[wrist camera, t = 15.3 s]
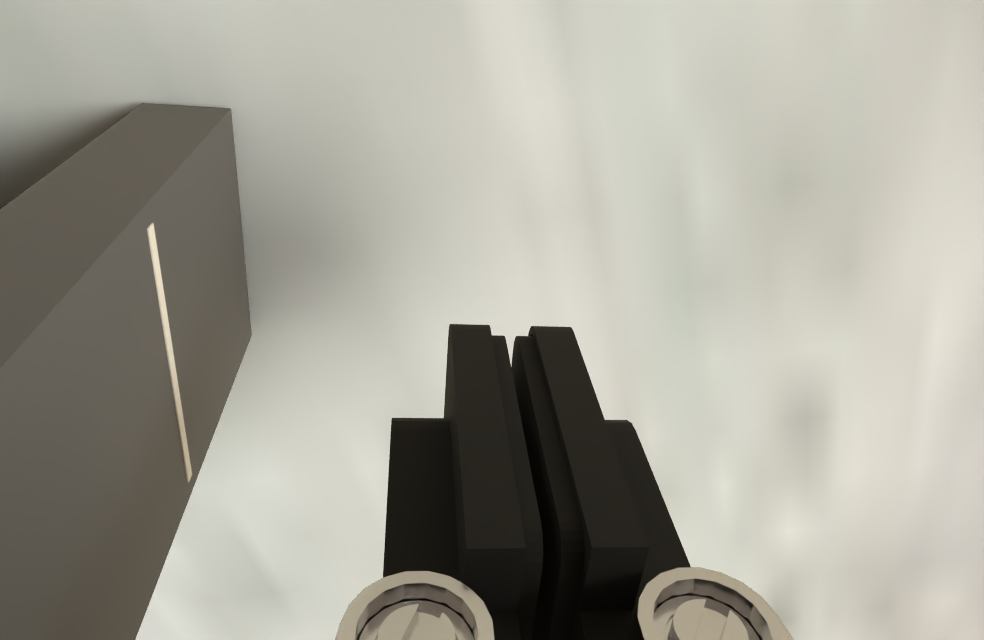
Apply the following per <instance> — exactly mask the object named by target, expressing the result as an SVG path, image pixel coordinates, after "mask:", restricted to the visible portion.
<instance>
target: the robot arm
mask: <svg viewBox="0 0 984 640" xmlns="http://www.w3.org/2000/svg"><path fill="white" fill-rule="evenodd" d="M335 640H794V639H793V637H792V636H791V634H790V633H789V631H788V630H787V628H786V627H785V625H784V624H783V623H782V621H781V620H780V618H779V617H778V615H777V614H776V613H775V611H774V610H773V609H772V608H771V607H770V606H769V605H768V603H767V602H766V601H765V600H764V599H763V598H762V597H761V596H760V595H759V594H757V593H756V592H755V591H753V590H752V589H751V588H749V587H748V586H747V585H745V584H744V583H743V582H740V581H738V580H736V579H734V578H732V577H730V576H728V575H726V574H723V573H721V572H717V571H713V570H708V569H704V568H700V567H692V568H691V567H690V564H689V562H688V559H687V557H686V554H685V552H684V549H683V547H682V544H681V542H680V539H679V537H678V534H677V532H676V529H675V527H674V524H673V522H672V519H671V517H670V515H669V512H668V510H667V507H666V505H665V502H664V500H663V497H662V495H661V492H660V490H659V487H658V485H657V482H656V480H655V477H654V475H653V472H652V470H651V467H650V465H649V463H648V460H647V458H646V455H645V453H644V450H643V448H642V445H641V443H640V440H639V438H638V435H637V433H636V430H635V429H634V427H633V425H632V423H631V422H629V421H627V420H604V417H603V414H602V411H601V408H600V405H599V403H598V400H597V397H596V394H595V391H594V388H593V386H592V383H591V380H590V377H589V374H588V371H587V369H586V366H585V363H584V360H583V357H582V354H581V352H580V349H579V346H578V343H577V340H576V337H575V335H574V332H573V330H572V328H571V327H545V326H531V328H530V331H529V334H528V336H516V338H515V341H514V348H513V357H512V367H511V365H510V359H509V354H508V349H507V344H506V339H505V336H492V335H491V329H490V326H489V325H463V324H450V326H449V336H448V353H447V371H446V389H445V406H444V418H392V424H391V441H390V459H389V478H388V496H387V515H386V533H385V552H384V570H383V578H382V579H380V580H378V581H377V582H375V583H373V584H371V585H370V586H368V587H366V588H365V589H363V591H362V592H361V593H360V594H359V595H358V596H357V597H356V598H355V599H354V600H353V601H352V602H351V603H350V604H349V606H348V608H347V610H346V612H345V614H344V616H343V618H342V620H341V622H340V625H339V628H338V632H337V635H336V639H335Z"/></svg>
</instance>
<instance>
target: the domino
mask: <svg viewBox="0 0 984 640" xmlns="http://www.w3.org/2000/svg"><path fill="white" fill-rule="evenodd" d="M250 338H251V324H250V313H249V302H248V291H247V280H246V269H245V258H244V247H243V236H242V225H241V214H240V203H239V192H238V181H237V170H236V159H235V148H234V137H233V126H232V115H231V109H227V108H211V107H194V106H178V105H161V104H145V103H142V104H141V105H139V106H138V107H137V108H135V109H134V110H133V111H131V112H130V113H129V114H127V115H126V116H125V117H123V118H122V119H121V120H119V121H118V122H117V123H115V124H114V125H113V126H111V127H110V128H109V129H107V130H106V131H105V132H103V133H102V134H101V135H99V136H98V137H96V138H95V139H94V140H92V141H91V142H90V143H88V144H87V145H86V146H84V147H83V148H82V149H80V150H79V151H78V152H76V153H75V154H74V155H72V156H71V157H70V158H68V159H67V160H66V161H64V162H63V163H62V164H60V165H59V166H58V167H56V168H55V169H54V170H52V171H51V172H50V173H48V174H47V175H46V176H44V177H43V178H42V179H40V180H39V181H38V182H36V183H35V184H33V185H32V186H31V187H29V188H28V189H27V190H25V191H24V192H23V193H21V194H20V195H19V196H17V197H16V198H15V199H13V200H12V201H11V202H9V203H8V204H7V205H5V206H4V207H3V208H1V209H0V640H135V639H136V636H137V633H138V631H139V628H140V626H141V623H142V620H143V618H144V615H145V613H146V610H147V607H148V605H149V602H150V599H151V597H152V594H153V592H154V589H155V586H156V584H157V581H158V579H159V576H160V573H161V571H162V568H163V565H164V563H165V560H166V558H167V555H168V552H169V550H170V547H171V545H172V542H173V539H174V537H175V534H176V531H177V529H178V526H179V524H180V521H181V518H182V516H183V513H184V511H185V508H186V505H187V503H188V500H189V497H190V495H191V492H192V490H193V487H194V484H195V482H196V479H197V477H198V474H199V471H200V469H201V466H202V463H203V461H204V458H205V456H206V453H207V450H208V448H209V445H210V443H211V440H212V437H213V435H214V432H215V429H216V427H217V424H218V422H219V419H220V416H221V414H222V411H223V409H224V406H225V403H226V401H227V398H228V395H229V393H230V390H231V388H232V385H233V382H234V380H235V377H236V375H237V372H238V369H239V367H240V364H241V361H242V359H243V356H244V354H245V351H246V348H247V346H248V343H249V341H250Z"/></svg>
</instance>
